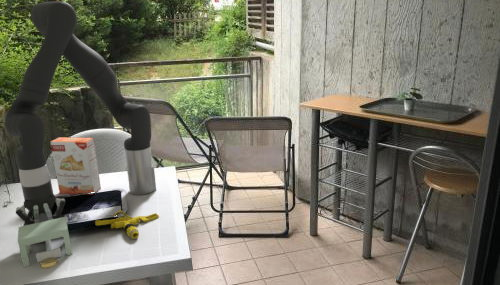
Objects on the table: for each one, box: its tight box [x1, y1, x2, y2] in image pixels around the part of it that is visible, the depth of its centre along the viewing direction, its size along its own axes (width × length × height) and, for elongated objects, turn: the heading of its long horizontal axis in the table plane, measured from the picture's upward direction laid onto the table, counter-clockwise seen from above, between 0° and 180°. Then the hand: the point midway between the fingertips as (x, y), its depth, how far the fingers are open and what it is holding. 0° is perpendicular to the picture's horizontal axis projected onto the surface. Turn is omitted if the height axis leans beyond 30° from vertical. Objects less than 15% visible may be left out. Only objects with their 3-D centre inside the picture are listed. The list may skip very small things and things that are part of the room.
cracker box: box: [50, 136, 101, 195], centre depth 150 cm, size 14×6×21 cm, turn 83°
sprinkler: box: [94, 210, 160, 239], centre depth 125 cm, size 19×4×15 cm
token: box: [39, 258, 58, 269], centre depth 108 cm, size 4×4×1 cm
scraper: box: [35, 213, 62, 263], centre depth 115 cm, size 6×16×9 cm, turn 27°
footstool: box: [17, 216, 73, 268], centre depth 111 cm, size 12×8×8 cm, turn 117°
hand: (46, 233), depth 120 cm, fingers closed on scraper
